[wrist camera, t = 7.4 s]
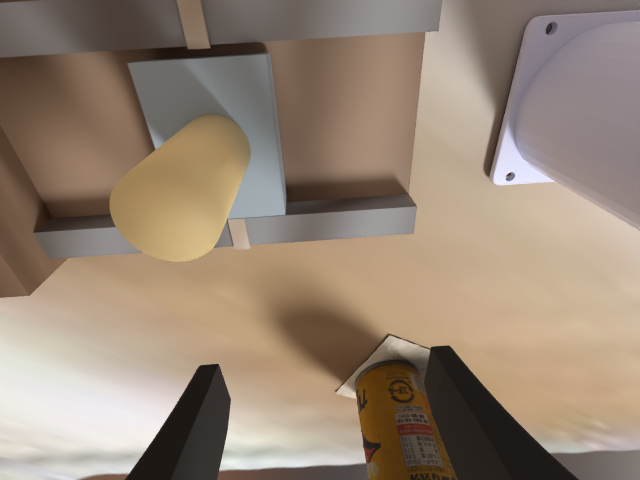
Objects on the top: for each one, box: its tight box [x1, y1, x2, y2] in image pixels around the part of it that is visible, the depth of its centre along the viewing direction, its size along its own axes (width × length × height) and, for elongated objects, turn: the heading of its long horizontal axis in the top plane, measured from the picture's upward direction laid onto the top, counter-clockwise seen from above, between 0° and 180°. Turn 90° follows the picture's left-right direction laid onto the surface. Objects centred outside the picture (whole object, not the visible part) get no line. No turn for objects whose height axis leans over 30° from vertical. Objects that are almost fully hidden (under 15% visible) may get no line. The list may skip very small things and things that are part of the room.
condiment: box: [336, 335, 457, 480], centre depth 24 cm, size 7×8×12 cm
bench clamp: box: [0, 0, 442, 298], centre depth 15 cm, size 22×12×5 cm, turn 93°
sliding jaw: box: [109, 52, 287, 262], centre depth 12 cm, size 5×7×8 cm
